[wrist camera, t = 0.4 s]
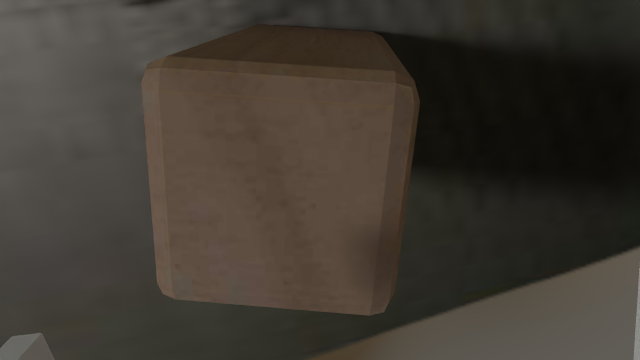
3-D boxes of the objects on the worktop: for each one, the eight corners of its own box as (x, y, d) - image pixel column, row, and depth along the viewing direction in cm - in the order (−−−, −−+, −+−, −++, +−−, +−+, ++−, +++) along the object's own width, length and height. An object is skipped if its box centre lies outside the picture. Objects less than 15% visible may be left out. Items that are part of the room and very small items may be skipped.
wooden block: (386, 31, 34) (428, 78, 16) (372, 163, 38) (394, 327, 19) (247, 22, 35) (126, 58, 16) (247, 154, 38) (149, 307, 20)
